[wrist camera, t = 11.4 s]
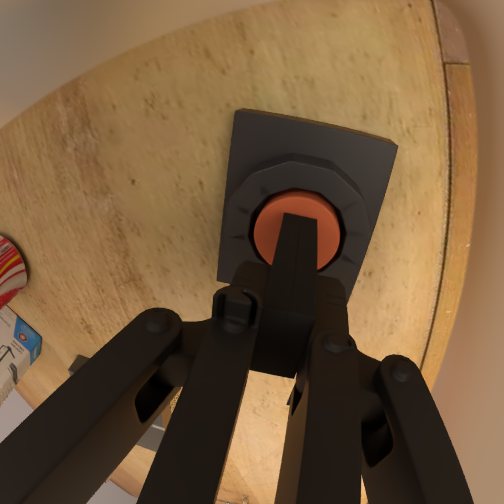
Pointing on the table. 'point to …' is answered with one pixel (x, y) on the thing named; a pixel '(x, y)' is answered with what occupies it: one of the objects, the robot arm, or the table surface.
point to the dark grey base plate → (155, 431)
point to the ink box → (15, 350)
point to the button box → (303, 184)
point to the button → (304, 206)
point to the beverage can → (10, 272)
